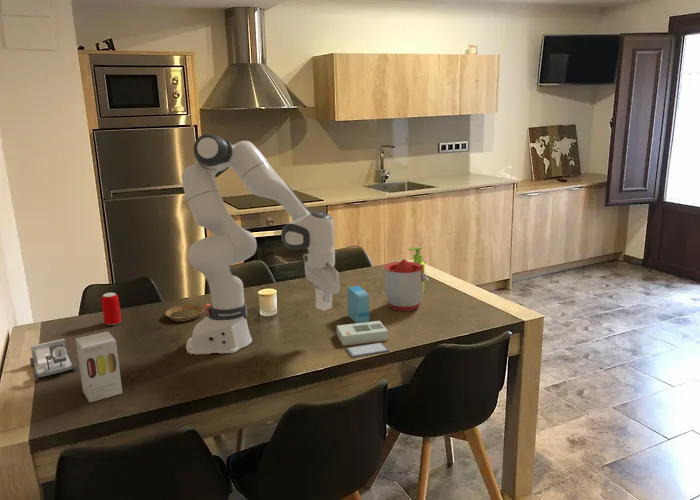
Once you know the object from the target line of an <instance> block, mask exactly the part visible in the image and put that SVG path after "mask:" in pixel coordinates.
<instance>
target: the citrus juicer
mask: <svg viewBox="0 0 700 500" xmlns="http://www.w3.org/2000/svg"><path fill="white" fill-rule="evenodd" d="M384 269H385V271H384V272H385V273H384V275H385V279H384V280H385V294H386V300H387V304H389V305H388V306H389V307H390V308H391V309H393V310H394V311H401V312H408V311H409V312H410V311H414V310H417V309H418V308H419V307H420V305H421V301H422V298H423V294H424V293H423V280H424V281H429V277H428V275H427V274H426V273H425V272H424V273H423V265H422V264H419V263H415V262H414V261H408V260H406V259H405V258H403V259H402V260H401V261H394V262H390V263H387V264H385V265H384Z"/></svg>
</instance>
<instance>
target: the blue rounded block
mask: <svg viewBox="0 0 700 500" xmlns="http://www.w3.org/2000/svg"><path fill="white" fill-rule="evenodd" d="M346 291H347V292H346V293H347V315H348V317H349V318H350V319H351V320H352V321H353V322H354V324H355V323H364V322H370V296H369V293H368V292H367V291H366V290H364V289H363V288H362V287H361V286H359V285H355V286H348V287H347V290H346Z"/></svg>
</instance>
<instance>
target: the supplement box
mask: <svg viewBox="0 0 700 500" xmlns="http://www.w3.org/2000/svg"><path fill="white" fill-rule="evenodd" d="M75 344H76V350H77V351H76V352H77V359H78V365H79V366H78V367H79V373H80V379H81V388H82V392H83V394H84V396H85V397H86V399H87V401H88V402H89V403H90V404H91V403H93V402H98V401H100V400H103V399H107V398H111V397H114V396H117V395H118V396H119V395H122V394H123V385H122V380H121V371H120V362H119V355H118V346H117V340H116V338H115V337H114V336H113V335H112V334H111V333H110V332H109V331H104V332H99V333H94V334H89V335H86V336H82V337H81V336H80V337H76V338H75Z"/></svg>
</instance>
